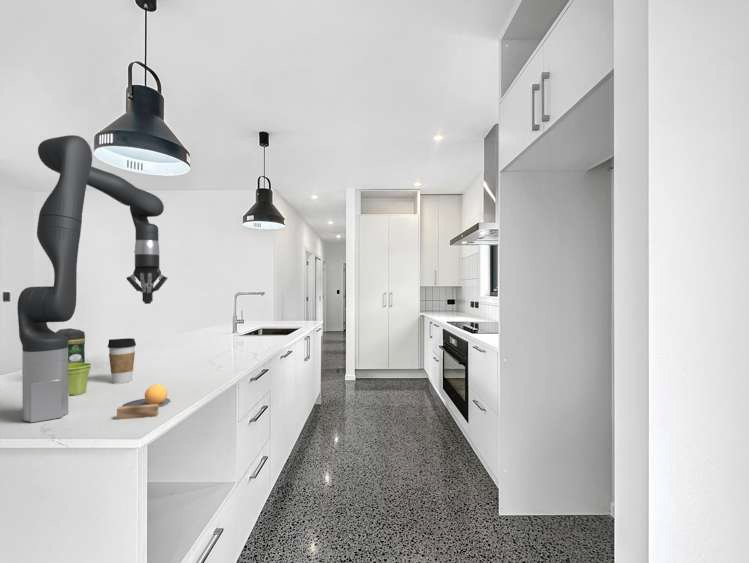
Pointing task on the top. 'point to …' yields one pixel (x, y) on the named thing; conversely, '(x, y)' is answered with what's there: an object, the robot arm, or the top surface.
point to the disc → (144, 402)
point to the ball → (156, 394)
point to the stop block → (137, 411)
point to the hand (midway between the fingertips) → (147, 303)
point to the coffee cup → (121, 359)
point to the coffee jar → (74, 345)
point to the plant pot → (78, 377)
